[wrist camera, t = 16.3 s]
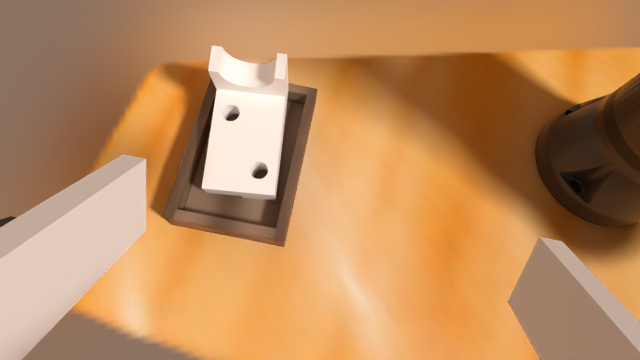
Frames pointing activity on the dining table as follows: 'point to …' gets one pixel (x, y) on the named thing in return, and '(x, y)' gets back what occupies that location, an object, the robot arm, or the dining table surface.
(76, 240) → the robot arm
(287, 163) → the walnut tray
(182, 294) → the dining table surface
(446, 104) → the dining table surface
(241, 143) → the bracket
